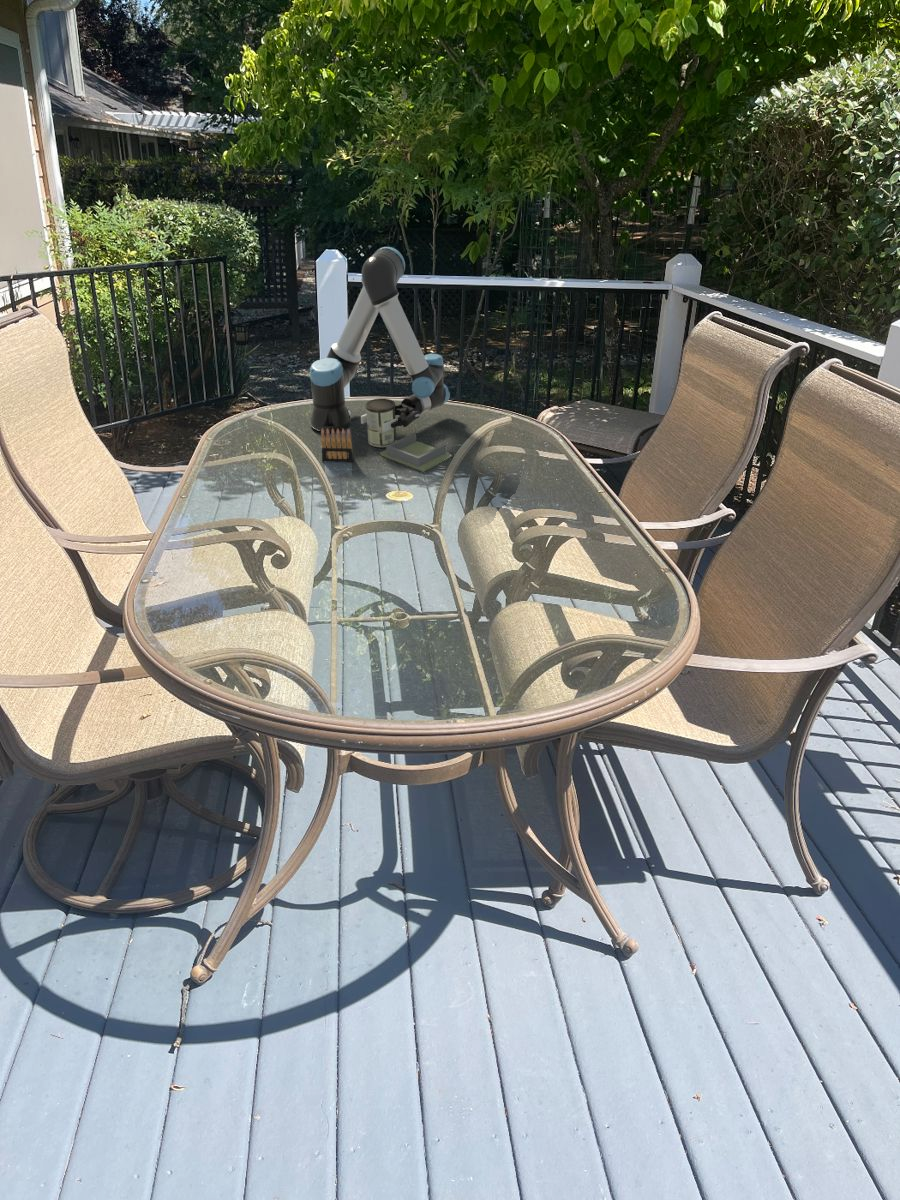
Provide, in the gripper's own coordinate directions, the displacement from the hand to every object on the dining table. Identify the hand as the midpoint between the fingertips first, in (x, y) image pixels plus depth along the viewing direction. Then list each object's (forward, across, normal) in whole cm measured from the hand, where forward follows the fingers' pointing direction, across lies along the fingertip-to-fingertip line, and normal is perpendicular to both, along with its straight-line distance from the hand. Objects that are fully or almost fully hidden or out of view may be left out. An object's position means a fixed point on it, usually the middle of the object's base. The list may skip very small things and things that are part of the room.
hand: (372, 424), depth 306 cm
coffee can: (-4, 0, -8) cm, 9 cm away
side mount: (-4, -17, -8) cm, 19 cm away
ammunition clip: (+16, +1, -9) cm, 18 cm away
